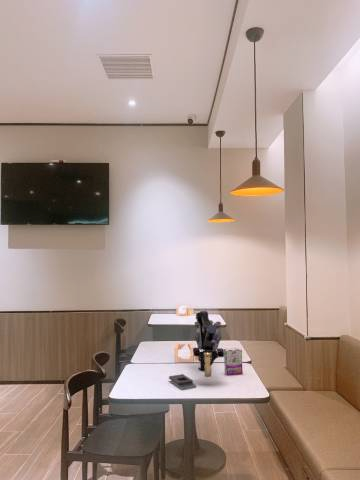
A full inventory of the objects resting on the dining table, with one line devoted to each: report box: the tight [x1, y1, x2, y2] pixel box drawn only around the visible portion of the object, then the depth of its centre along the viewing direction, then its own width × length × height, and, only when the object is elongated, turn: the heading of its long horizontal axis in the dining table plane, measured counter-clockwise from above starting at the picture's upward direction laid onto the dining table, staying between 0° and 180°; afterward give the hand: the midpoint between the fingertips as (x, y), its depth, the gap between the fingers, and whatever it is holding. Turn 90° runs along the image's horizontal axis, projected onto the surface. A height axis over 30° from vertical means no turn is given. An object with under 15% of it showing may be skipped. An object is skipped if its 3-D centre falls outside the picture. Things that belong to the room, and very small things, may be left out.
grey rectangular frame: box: [168, 374, 197, 391], centre depth 219 cm, size 18×10×3 cm, turn 25°
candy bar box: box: [223, 347, 243, 377], centre depth 238 cm, size 11×5×16 cm, turn 101°
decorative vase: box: [194, 319, 222, 359], centre depth 285 cm, size 21×19×28 cm
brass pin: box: [204, 352, 212, 378], centre depth 217 cm, size 5×5×14 cm
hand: (207, 364), depth 215 cm, fingers closed on brass pin, 4 cm apart
